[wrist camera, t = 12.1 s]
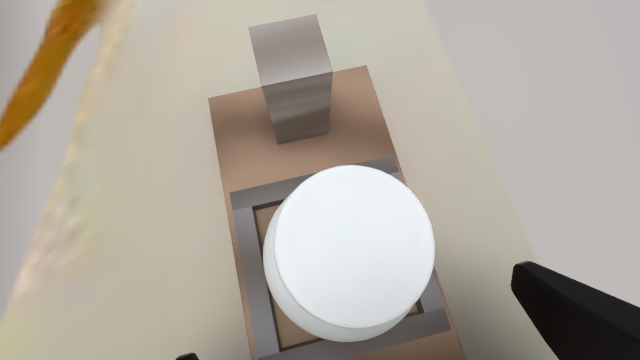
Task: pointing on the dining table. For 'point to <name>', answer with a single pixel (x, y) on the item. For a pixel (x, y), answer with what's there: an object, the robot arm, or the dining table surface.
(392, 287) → the supplement bottle
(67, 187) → the dining table surface
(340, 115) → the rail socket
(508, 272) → the dining table surface
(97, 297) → the dining table surface
